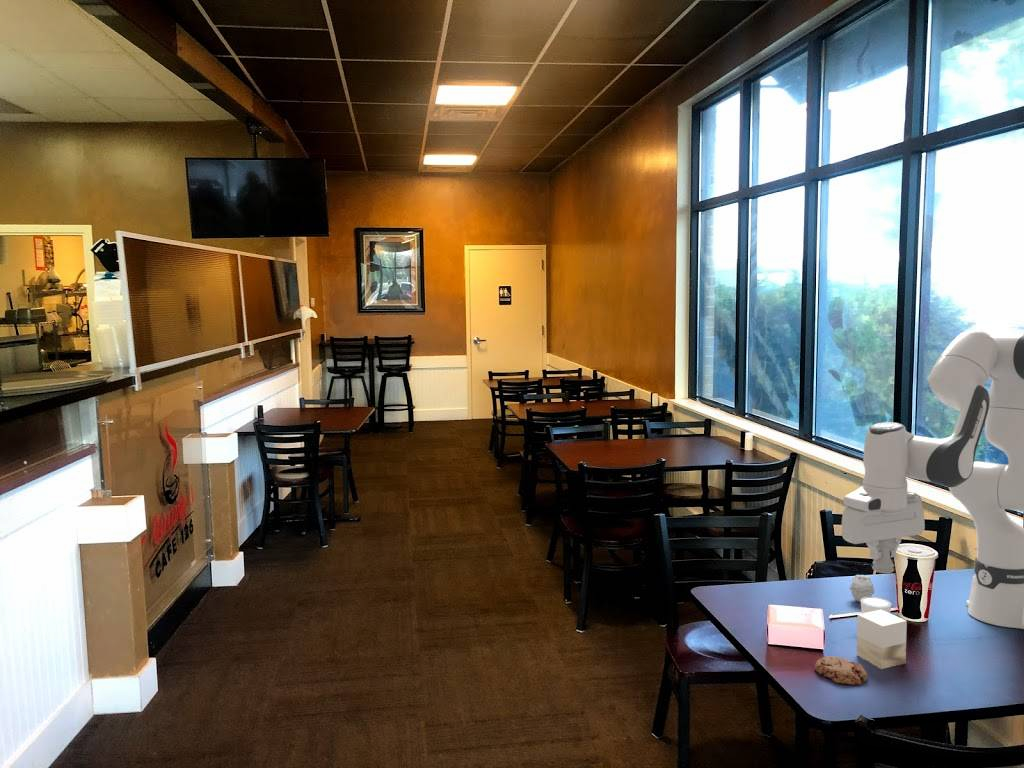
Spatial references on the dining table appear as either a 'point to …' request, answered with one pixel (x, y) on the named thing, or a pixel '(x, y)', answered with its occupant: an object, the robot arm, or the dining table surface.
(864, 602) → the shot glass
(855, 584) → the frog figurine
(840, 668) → the cookie
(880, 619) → the upper block
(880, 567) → the rook chess piece
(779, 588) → the dining table surface
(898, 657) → the lower block
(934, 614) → the dining table surface
